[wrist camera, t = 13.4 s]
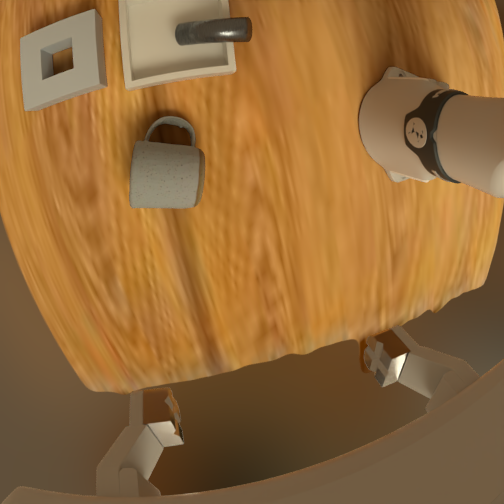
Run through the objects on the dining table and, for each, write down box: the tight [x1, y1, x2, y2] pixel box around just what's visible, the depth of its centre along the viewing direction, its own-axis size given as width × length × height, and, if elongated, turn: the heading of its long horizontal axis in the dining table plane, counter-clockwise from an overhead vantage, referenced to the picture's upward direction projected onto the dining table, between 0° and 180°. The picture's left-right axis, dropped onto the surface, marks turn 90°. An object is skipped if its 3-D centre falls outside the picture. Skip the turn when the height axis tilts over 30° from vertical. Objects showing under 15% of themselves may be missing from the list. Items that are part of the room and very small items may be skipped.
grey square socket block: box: [20, 9, 107, 111], centre depth 24 cm, size 10×10×4 cm
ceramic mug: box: [129, 116, 205, 208], centre depth 32 cm, size 11×8×8 cm
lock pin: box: [175, 17, 252, 46], centre depth 26 cm, size 3×3×8 cm
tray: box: [119, 0, 236, 91], centre depth 27 cm, size 13×13×3 cm
